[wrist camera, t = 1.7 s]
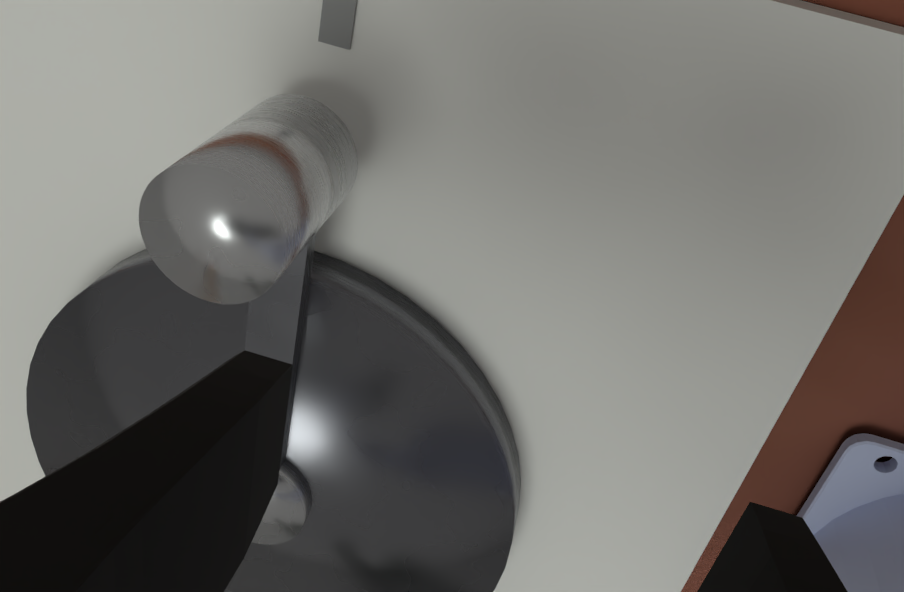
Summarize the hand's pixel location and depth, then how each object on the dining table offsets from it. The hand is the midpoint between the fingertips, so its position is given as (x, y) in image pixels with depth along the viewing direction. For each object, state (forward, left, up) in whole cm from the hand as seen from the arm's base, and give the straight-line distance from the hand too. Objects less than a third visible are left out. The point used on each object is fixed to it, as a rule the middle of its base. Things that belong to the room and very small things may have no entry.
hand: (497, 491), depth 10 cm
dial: (+6, +8, -9) cm, 14 cm away
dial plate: (+7, +9, -10) cm, 15 cm away
